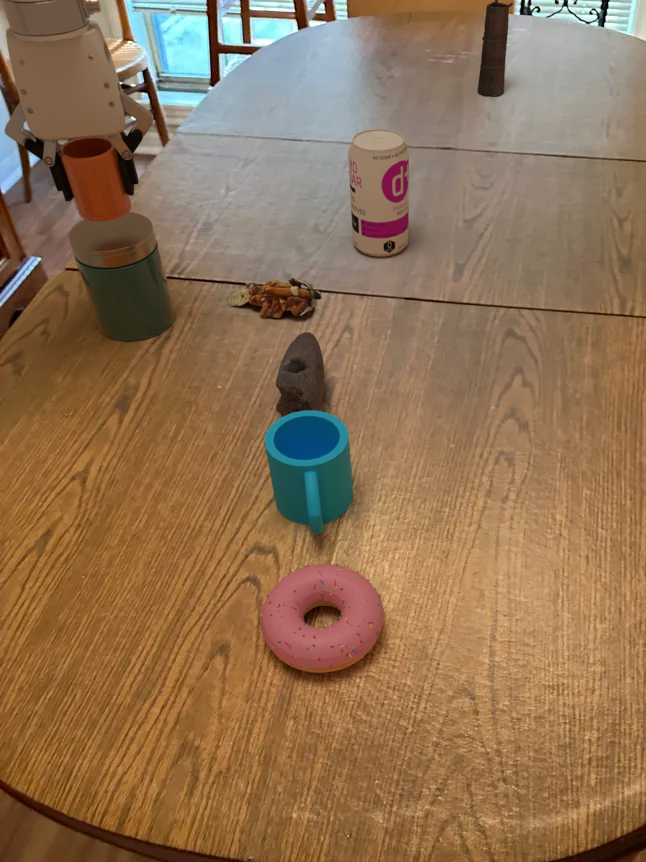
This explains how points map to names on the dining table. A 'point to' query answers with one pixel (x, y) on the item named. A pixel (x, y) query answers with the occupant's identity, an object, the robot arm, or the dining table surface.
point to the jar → (130, 298)
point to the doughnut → (323, 644)
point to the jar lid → (113, 241)
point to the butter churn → (494, 49)
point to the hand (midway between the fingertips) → (100, 191)
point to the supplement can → (379, 191)
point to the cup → (95, 178)
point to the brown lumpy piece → (277, 297)
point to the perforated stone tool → (301, 376)
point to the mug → (310, 467)
